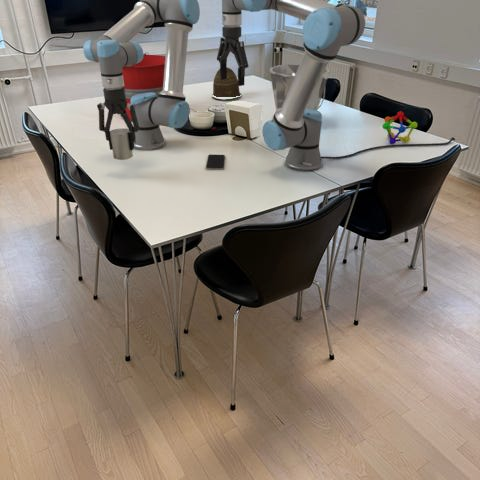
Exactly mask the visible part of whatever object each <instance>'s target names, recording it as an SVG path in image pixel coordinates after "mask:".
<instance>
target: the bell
mask: <svg viewBox="0 0 480 480" xmlns="http://www.w3.org/2000/svg"><path fill="white" fill-rule="evenodd" d="M224 63H228V58H227V59H226V62H224ZM212 83H213V84H212V95H214V96H216V97H236V96H240V95H241V96H242V93H241V92H240V86H238V76H237V75H236V73H235V72H234V70H232V69H231V68H230V67H227V79H223V80H221V79H220V68H219V69H218V70H217V71H216V73H215V75H214V78H213V81H212Z"/></svg>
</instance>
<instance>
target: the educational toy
mask: <svg viewBox="0 0 480 480" xmlns="http://www.w3.org/2000/svg"><path fill="white" fill-rule="evenodd" d="M397 119H399V124H400V125H399V127H398V126H393V125H391V124H392V123H394V122H395V121H396V120H397ZM403 120H404V121H405V122H407V123H408V124H409V125H407V126H404V123H403ZM417 127H418V122H417V121H411V120H410V119H409V118H408V117H406V116H405V113H404V112H403V111H401V110H400V111H398V112H397V114H396V115H394V116H391V117H390V116H386V117H385V118H384V122H383V123H382V129H383V130H386V132H387V138H388V142H389V145H396V143H397V142H402V141H403V142H404V143H409V142H410V140H411V138H410V136H411V134H412V132H413V131H414V130H415V129H417ZM392 129H393V130H397V131H398V132H396V134H395V133H394V132H392ZM408 129H409V131H408V133H407V134H406V135H404V136H401V134H403V133H405V132H406V130H408ZM399 135H400V136H399Z"/></svg>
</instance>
